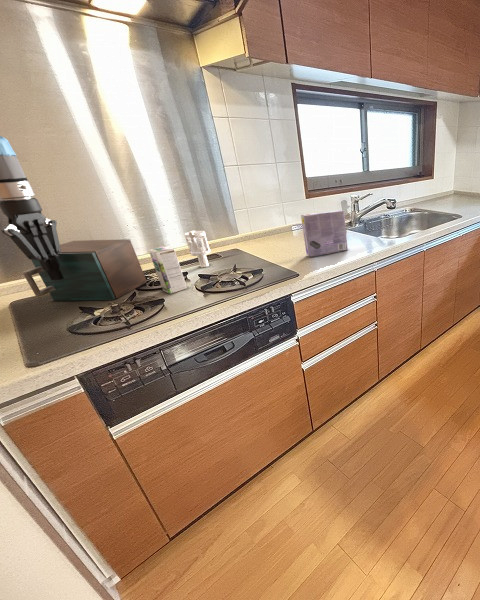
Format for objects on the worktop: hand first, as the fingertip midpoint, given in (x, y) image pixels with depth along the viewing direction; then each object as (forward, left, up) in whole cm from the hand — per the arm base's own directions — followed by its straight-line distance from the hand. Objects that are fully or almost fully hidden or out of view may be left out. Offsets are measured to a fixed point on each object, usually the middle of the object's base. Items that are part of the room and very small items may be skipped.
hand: (57, 279), depth 98 cm
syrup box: (+28, +6, -9) cm, 30 cm away
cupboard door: (+1, +1, -9) cm, 9 cm away
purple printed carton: (+79, +36, -9) cm, 87 cm away
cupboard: (+3, +11, -9) cm, 15 cm away
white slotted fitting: (+29, +30, -9) cm, 43 cm away
